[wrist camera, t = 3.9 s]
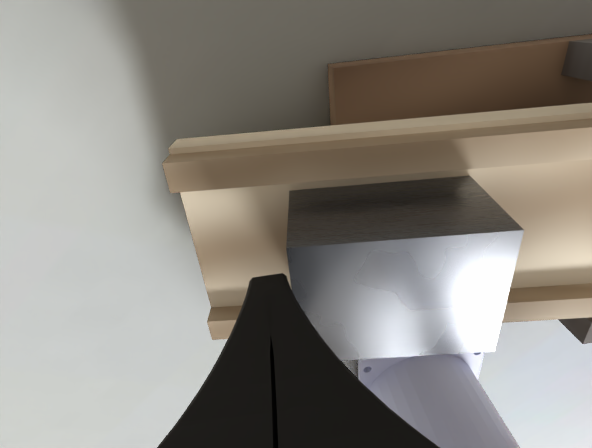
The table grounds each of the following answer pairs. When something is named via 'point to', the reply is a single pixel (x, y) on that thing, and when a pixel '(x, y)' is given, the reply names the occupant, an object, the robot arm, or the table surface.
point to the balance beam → (391, 168)
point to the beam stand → (466, 89)
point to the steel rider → (402, 266)
